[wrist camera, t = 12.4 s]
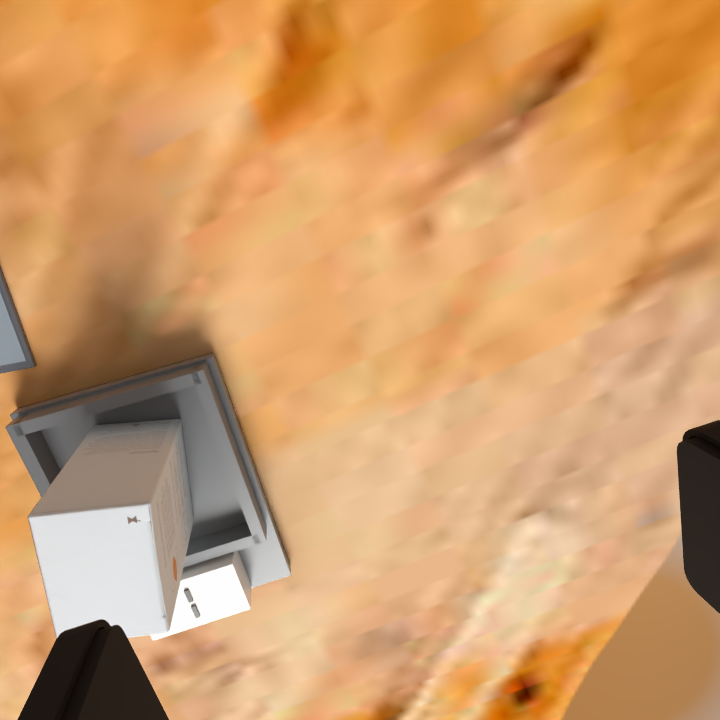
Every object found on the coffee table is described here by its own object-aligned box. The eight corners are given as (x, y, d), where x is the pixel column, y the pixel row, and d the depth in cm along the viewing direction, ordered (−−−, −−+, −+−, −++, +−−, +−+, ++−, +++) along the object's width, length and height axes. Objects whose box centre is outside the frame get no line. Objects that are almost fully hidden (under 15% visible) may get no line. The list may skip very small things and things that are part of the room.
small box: (93, 422, 34) (22, 512, 24) (183, 416, 35) (150, 500, 25) (112, 529, 37) (53, 651, 27) (195, 520, 38) (169, 636, 28)
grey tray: (17, 408, 34) (-11, 431, 31) (213, 352, 35) (207, 368, 32) (123, 620, 40) (110, 658, 37) (290, 566, 41) (292, 599, 38)
